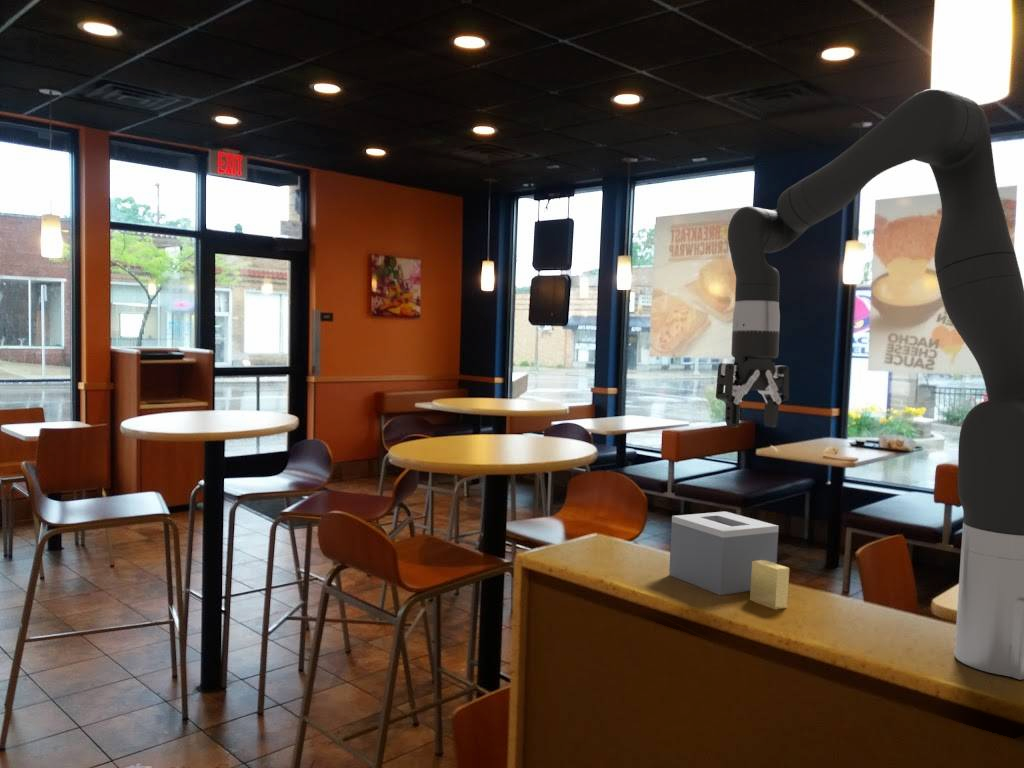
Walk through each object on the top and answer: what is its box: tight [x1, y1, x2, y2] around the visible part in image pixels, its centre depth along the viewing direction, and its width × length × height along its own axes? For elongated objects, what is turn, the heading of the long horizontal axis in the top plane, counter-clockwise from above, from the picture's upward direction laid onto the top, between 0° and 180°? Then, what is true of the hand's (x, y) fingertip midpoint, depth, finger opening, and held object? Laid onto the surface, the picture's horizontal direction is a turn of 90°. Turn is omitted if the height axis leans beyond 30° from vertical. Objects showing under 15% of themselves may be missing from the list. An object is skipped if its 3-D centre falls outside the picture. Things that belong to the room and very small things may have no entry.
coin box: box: [668, 511, 780, 596], centre depth 135 cm, size 12×12×10 cm
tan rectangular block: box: [749, 560, 790, 610], centre depth 123 cm, size 5×2×6 cm, turn 29°
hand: (751, 426), depth 136 cm, fingers open, 8 cm apart
